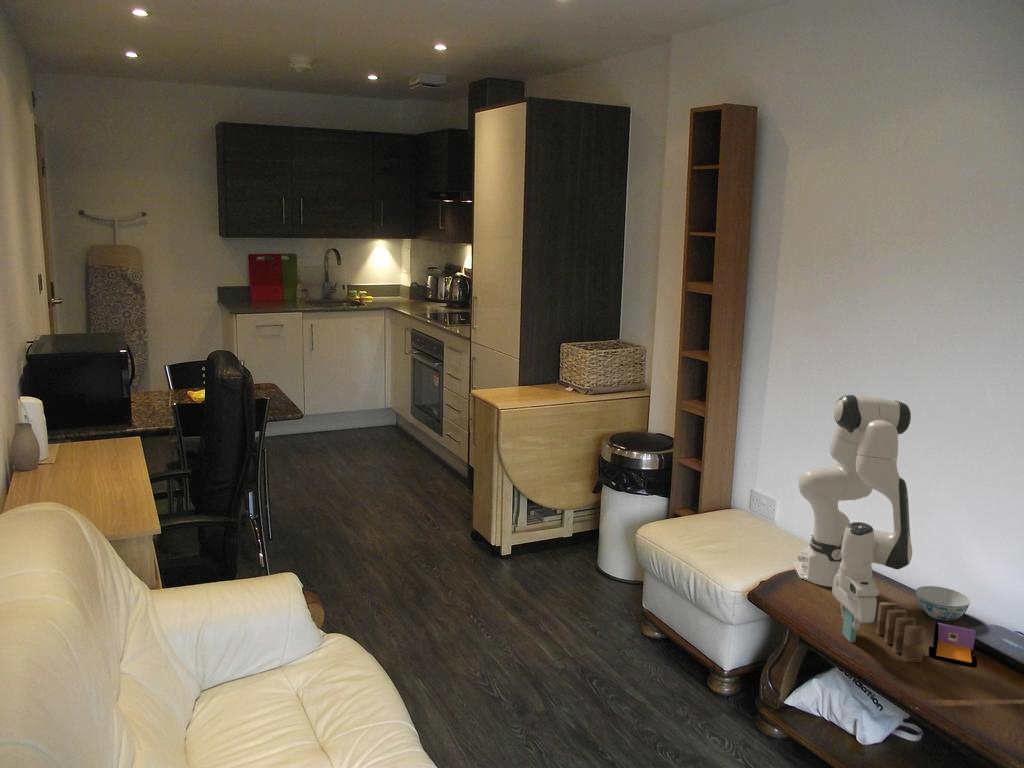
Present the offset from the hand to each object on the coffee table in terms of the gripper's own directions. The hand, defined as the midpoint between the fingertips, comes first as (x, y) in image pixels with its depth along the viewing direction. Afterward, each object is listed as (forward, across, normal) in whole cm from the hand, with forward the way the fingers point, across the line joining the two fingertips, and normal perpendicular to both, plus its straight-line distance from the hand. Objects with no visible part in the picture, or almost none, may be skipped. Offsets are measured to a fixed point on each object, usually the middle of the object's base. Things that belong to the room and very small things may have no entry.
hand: (850, 623), depth 243 cm
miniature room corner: (+5, +9, +26) cm, 28 cm away
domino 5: (+5, +13, +12) cm, 18 cm away
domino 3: (+5, +3, +12) cm, 13 cm away
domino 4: (+5, +8, +12) cm, 15 cm away
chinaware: (+5, -13, +35) cm, 38 cm away
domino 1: (+5, 0, 0) cm, 5 cm away
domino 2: (+5, -2, +12) cm, 13 cm away
